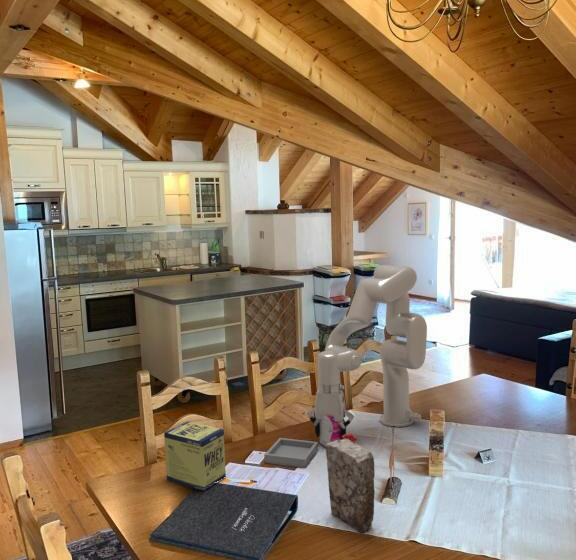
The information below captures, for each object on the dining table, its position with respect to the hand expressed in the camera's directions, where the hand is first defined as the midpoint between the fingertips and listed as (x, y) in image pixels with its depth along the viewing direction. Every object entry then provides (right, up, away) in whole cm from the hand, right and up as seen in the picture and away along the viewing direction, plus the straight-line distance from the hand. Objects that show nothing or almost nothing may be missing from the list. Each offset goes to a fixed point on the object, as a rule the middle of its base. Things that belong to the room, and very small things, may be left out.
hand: (330, 436), depth 190 cm
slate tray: (-13, -4, -7) cm, 16 cm away
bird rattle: (+5, -5, -16) cm, 17 cm away
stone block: (+2, -9, -47) cm, 48 cm away
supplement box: (0, -3, 0) cm, 3 cm away
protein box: (-43, -7, -21) cm, 48 cm away
